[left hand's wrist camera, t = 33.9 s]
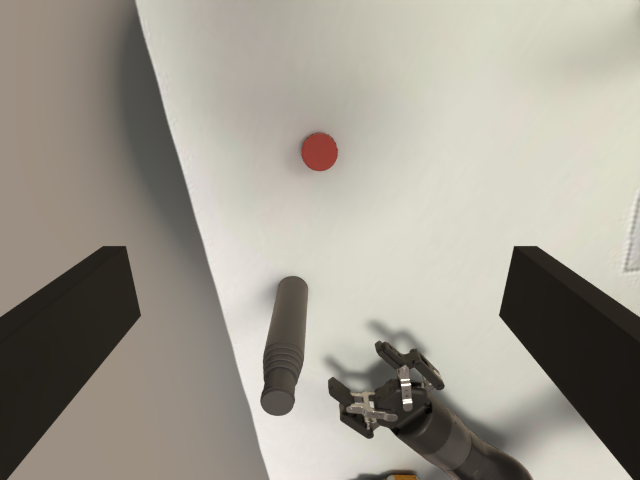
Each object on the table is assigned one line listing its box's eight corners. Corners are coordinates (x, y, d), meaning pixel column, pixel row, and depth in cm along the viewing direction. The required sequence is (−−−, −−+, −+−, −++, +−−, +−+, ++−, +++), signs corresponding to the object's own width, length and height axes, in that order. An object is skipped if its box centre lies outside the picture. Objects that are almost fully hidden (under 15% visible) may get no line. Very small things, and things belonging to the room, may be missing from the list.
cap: (329, 172, 44) (330, 176, 42) (297, 160, 43) (296, 164, 41) (342, 139, 43) (343, 142, 40) (309, 127, 42) (308, 128, 40)
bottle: (273, 281, 50) (245, 393, 31) (301, 272, 49) (290, 379, 30) (285, 305, 51) (265, 426, 32) (312, 296, 50) (308, 414, 32)
